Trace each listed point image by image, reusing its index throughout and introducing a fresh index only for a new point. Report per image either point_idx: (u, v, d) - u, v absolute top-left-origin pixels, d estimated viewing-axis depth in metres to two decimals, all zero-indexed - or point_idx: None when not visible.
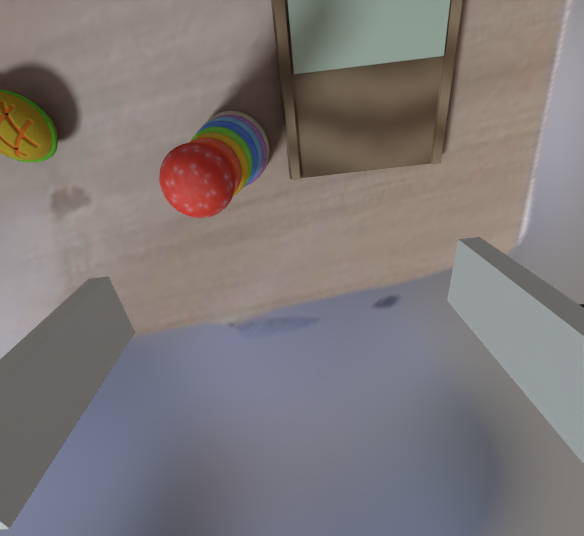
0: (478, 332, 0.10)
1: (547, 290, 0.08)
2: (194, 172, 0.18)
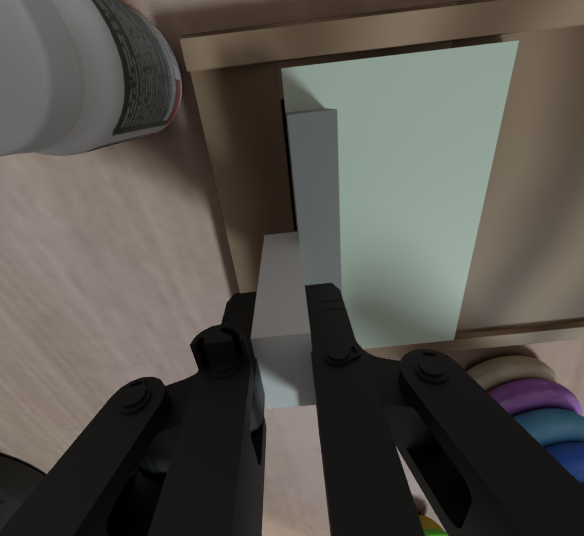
0: None
1: (295, 270, 0.10)
2: None
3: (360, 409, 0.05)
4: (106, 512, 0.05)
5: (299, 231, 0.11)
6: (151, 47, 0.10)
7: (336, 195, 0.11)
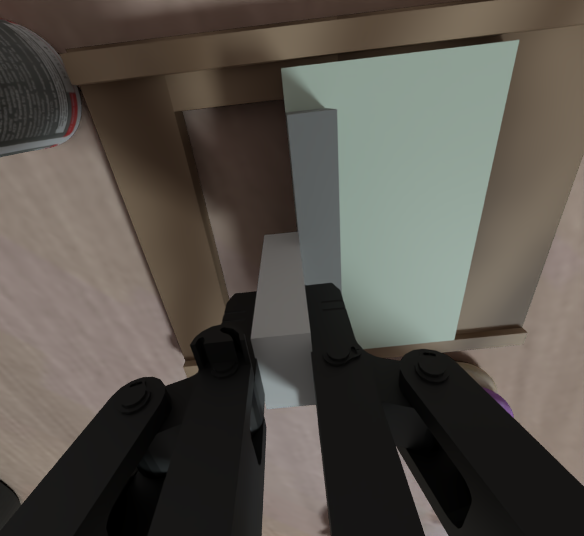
0: None
1: (296, 270, 0.10)
2: None
3: (361, 409, 0.05)
4: (106, 512, 0.05)
5: (299, 231, 0.11)
6: (20, 63, 0.10)
7: (336, 195, 0.11)
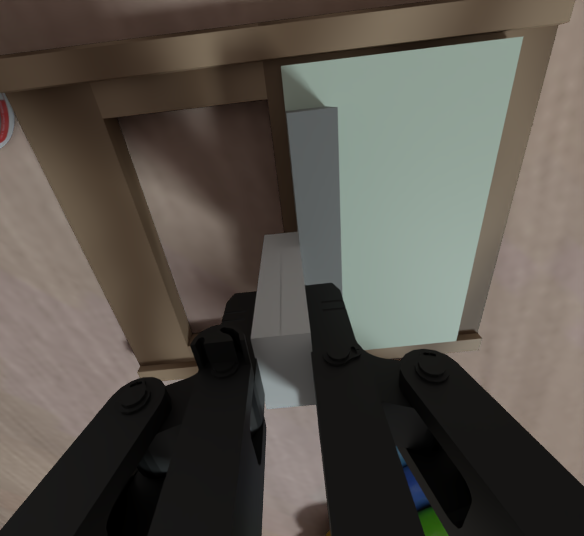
0: None
1: (296, 270, 0.10)
2: None
3: (360, 409, 0.05)
4: (105, 512, 0.05)
5: (299, 231, 0.11)
6: None
7: (337, 195, 0.11)
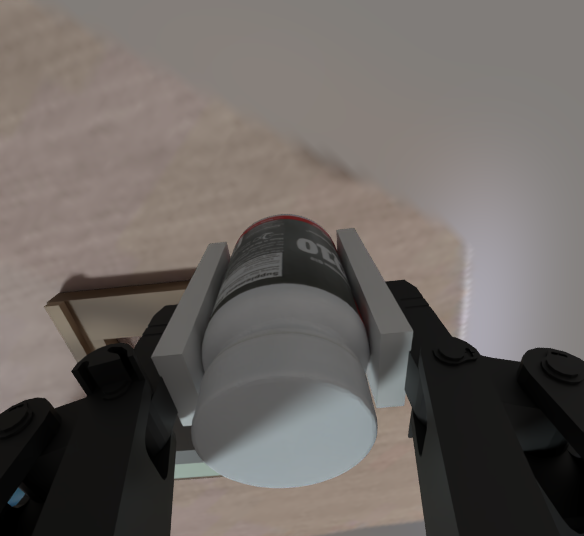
0: None
1: (369, 267, 0.10)
2: None
3: (481, 413, 0.05)
4: None
5: None
6: None
7: None
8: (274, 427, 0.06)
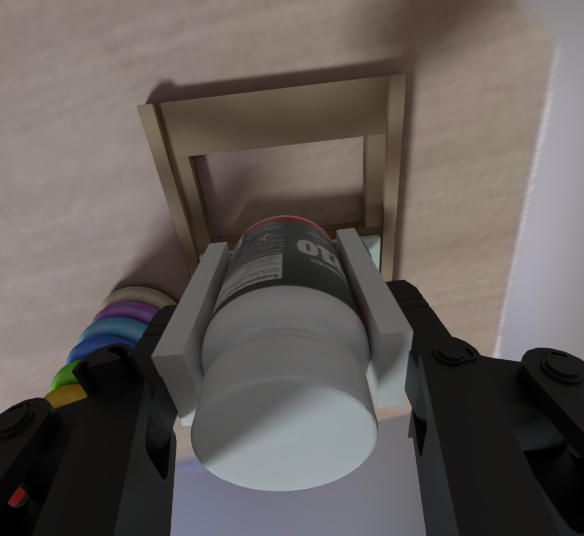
0: None
1: (369, 267, 0.10)
2: None
3: (481, 413, 0.05)
4: None
5: None
6: None
7: None
8: (275, 430, 0.06)
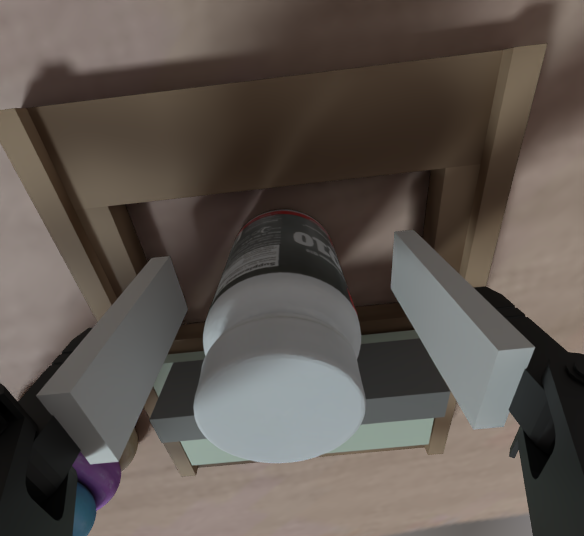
0: (409, 314, 0.11)
1: (450, 273, 0.09)
2: None
3: None
4: None
5: None
6: None
7: (378, 421, 0.12)
8: (271, 403, 0.07)
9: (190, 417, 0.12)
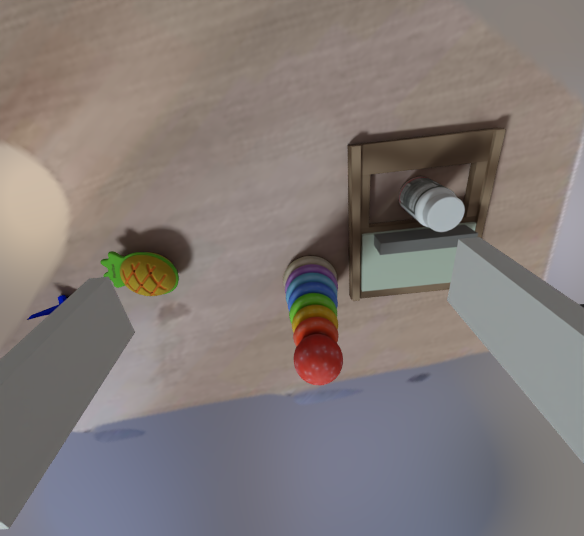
0: (478, 332, 0.10)
1: (547, 290, 0.08)
2: (325, 368, 0.28)
3: None
4: None
5: (445, 236, 0.37)
6: None
7: (453, 246, 0.37)
8: (445, 210, 0.32)
9: (394, 242, 0.37)
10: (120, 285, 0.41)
